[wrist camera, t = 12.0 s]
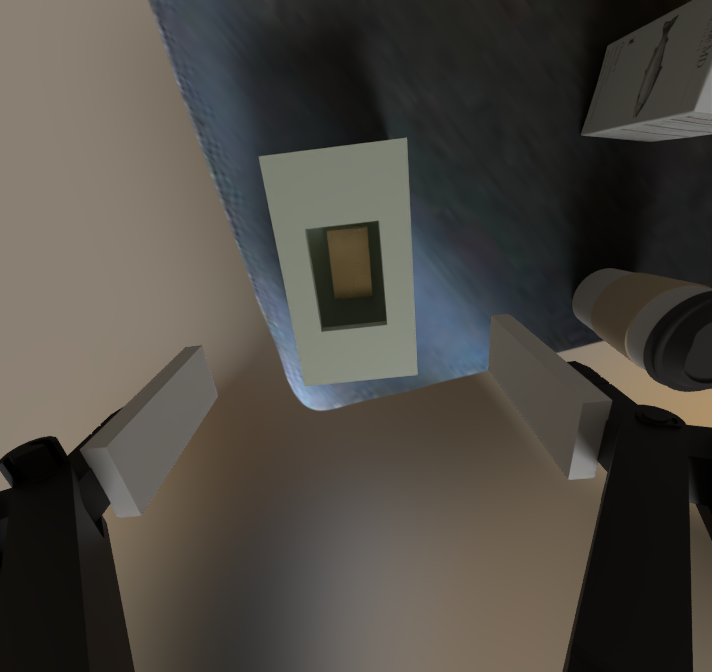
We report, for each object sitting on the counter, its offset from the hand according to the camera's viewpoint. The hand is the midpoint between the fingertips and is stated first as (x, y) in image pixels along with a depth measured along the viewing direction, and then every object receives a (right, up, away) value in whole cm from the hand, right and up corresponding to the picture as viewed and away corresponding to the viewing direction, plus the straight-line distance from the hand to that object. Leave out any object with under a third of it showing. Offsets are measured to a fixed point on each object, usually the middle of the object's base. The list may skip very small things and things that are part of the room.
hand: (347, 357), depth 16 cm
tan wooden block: (0, +9, +22) cm, 24 cm away
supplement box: (+26, +24, +17) cm, 39 cm away
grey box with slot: (0, +10, +23) cm, 25 cm away
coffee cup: (+29, +6, +25) cm, 39 cm away
